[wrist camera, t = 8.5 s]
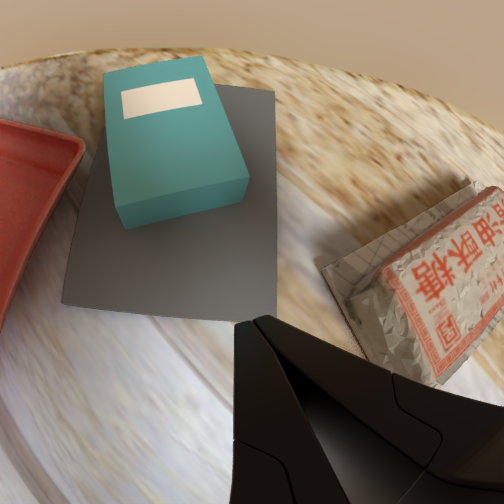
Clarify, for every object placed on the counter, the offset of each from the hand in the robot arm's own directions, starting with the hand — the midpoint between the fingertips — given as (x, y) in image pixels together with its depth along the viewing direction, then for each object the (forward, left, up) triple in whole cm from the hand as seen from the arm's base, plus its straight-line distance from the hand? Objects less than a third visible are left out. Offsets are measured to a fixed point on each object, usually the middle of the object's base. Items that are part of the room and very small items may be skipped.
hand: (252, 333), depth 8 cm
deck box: (+7, +2, -7) cm, 10 cm away
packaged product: (+5, -15, -9) cm, 18 cm away
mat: (+9, +3, -8) cm, 13 cm away
